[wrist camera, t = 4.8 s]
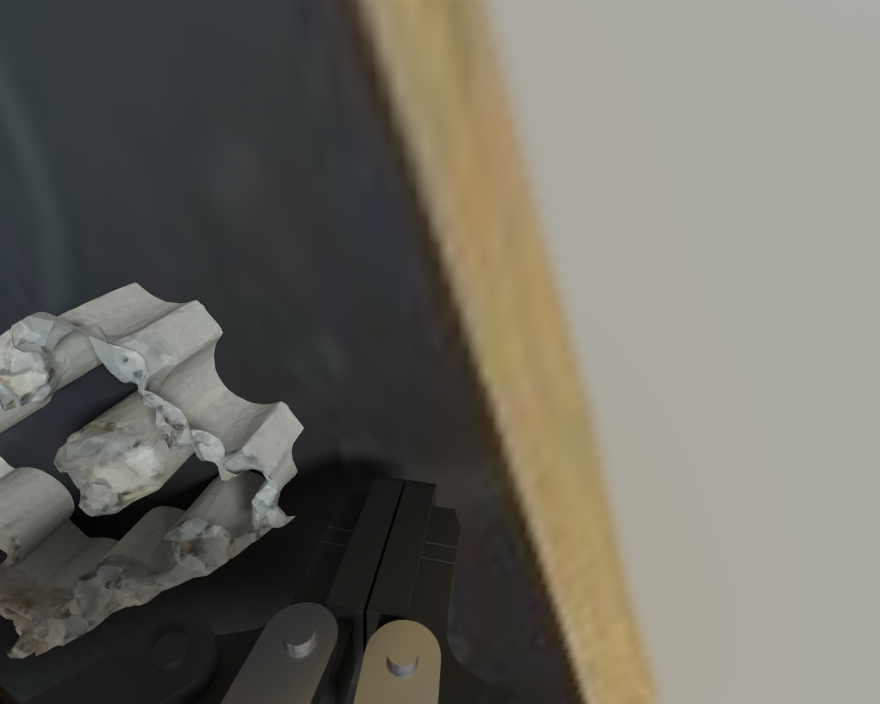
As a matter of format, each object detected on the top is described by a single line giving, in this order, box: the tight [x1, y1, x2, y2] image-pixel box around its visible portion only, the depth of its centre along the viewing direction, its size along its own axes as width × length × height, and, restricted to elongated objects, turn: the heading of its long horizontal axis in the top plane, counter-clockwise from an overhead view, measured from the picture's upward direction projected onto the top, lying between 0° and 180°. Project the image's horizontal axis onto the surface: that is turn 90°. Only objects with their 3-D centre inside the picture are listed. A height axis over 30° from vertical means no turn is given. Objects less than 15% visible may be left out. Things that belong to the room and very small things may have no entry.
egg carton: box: [0, 283, 303, 659], centre depth 13 cm, size 11×8×4 cm
